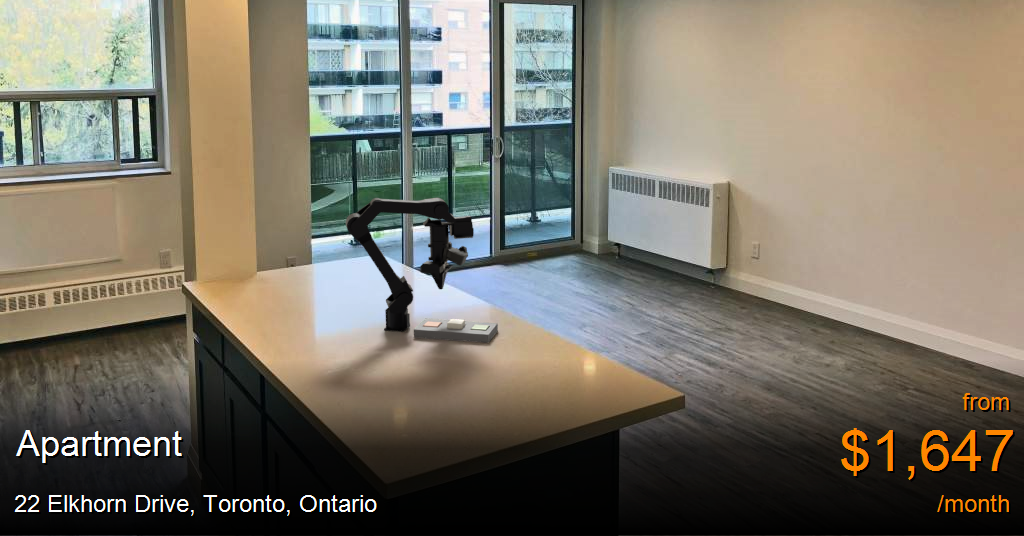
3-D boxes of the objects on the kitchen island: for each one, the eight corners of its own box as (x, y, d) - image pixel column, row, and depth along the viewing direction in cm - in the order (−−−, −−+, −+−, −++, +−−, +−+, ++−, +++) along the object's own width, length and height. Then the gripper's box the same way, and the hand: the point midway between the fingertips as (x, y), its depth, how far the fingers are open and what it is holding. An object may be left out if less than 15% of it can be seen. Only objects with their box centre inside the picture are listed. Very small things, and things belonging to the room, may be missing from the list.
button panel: (413, 337, 283) (413, 329, 283) (425, 325, 295) (425, 318, 294) (488, 342, 279) (488, 334, 278) (497, 330, 290) (497, 323, 289)
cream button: (447, 331, 285) (447, 323, 284) (451, 326, 289) (451, 318, 288) (461, 331, 284) (461, 324, 283) (465, 327, 288) (465, 319, 287)
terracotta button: (423, 333, 287) (423, 325, 286) (427, 329, 291) (427, 321, 290) (437, 334, 286) (437, 326, 285) (441, 330, 290) (441, 322, 289)
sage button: (471, 336, 283) (471, 328, 283) (474, 332, 288) (474, 324, 287) (485, 337, 283) (485, 329, 282) (489, 333, 287) (489, 325, 286)
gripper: (454, 247, 278) (455, 298, 282) (473, 234, 296) (474, 283, 300) (418, 245, 281) (420, 296, 285) (440, 233, 299) (441, 281, 303)
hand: (440, 289), depth 293 cm, fingers closed
